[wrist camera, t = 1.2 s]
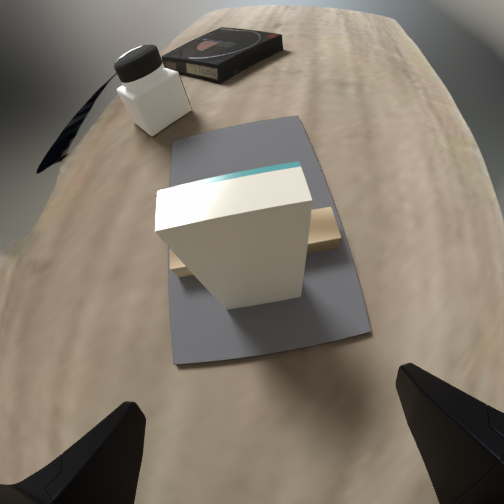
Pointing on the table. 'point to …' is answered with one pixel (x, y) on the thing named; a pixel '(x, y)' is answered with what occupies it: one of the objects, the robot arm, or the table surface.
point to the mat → (316, 266)
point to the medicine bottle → (150, 89)
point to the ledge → (319, 240)
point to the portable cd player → (222, 53)
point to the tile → (241, 232)
